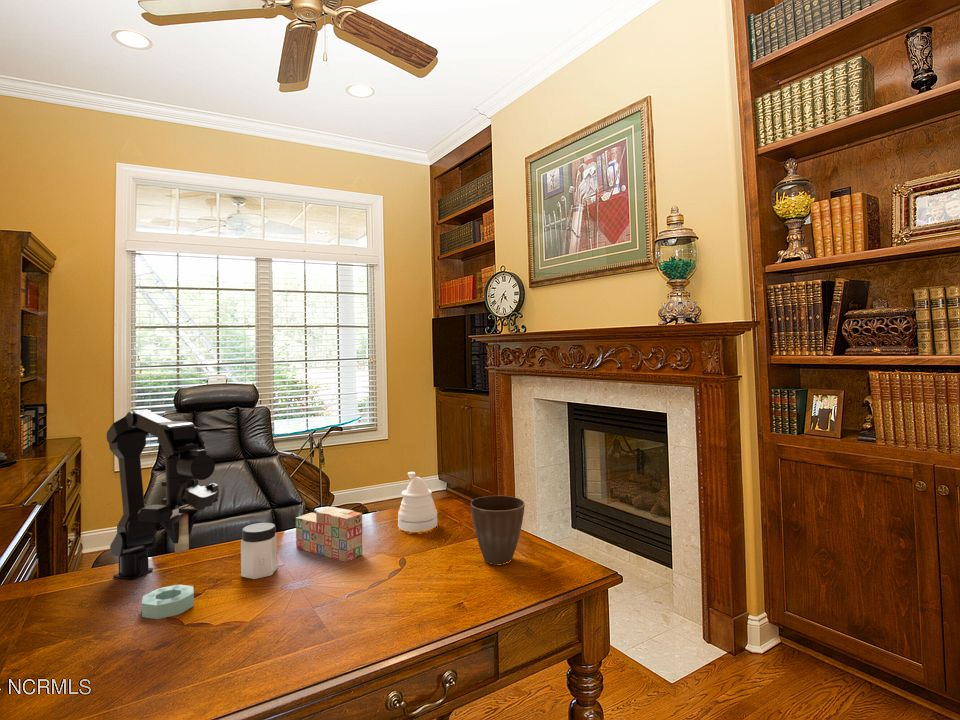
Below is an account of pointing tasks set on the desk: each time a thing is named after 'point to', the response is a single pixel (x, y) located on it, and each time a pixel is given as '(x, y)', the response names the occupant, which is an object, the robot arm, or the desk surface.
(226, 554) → the desk surface
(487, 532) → the plant pot
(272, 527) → the jar
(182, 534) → the beige cylindrical peg
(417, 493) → the honey pot
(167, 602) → the bead
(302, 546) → the stack of blocks
